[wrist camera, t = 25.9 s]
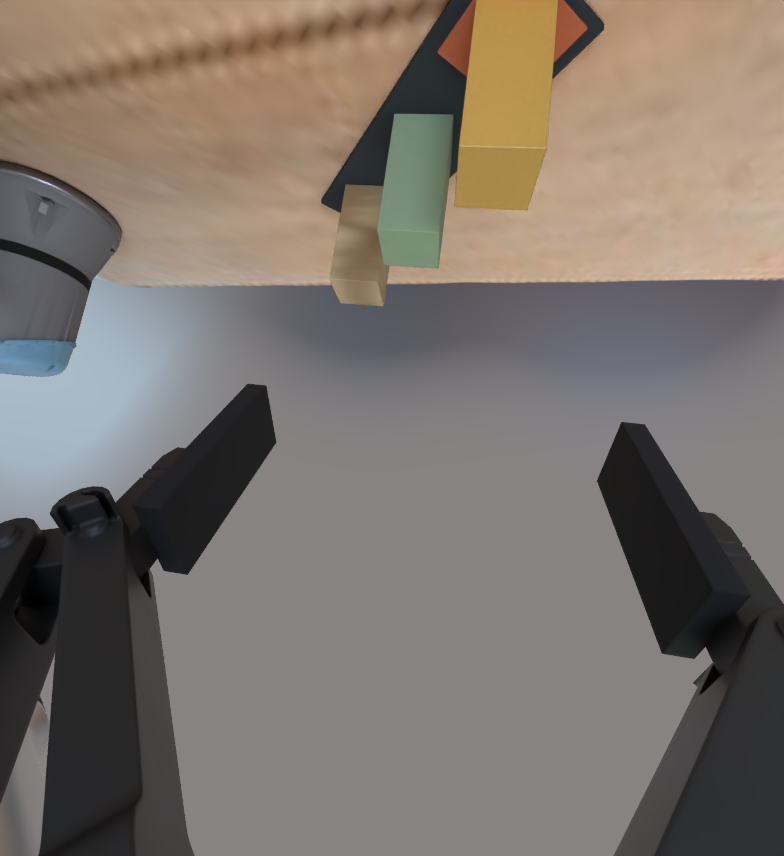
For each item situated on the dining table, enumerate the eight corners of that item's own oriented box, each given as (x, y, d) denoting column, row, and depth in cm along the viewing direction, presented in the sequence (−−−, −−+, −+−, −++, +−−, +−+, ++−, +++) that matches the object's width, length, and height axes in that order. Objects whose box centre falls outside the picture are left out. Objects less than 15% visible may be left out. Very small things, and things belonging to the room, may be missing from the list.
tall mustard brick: (469, 79, 30) (454, 208, 29) (476, -4, 25) (458, 146, 24) (537, 80, 30) (526, 211, 28) (558, -5, 25) (547, 148, 23)
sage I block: (399, 163, 39) (384, 266, 37) (394, 113, 34) (376, 229, 32) (451, 164, 38) (438, 269, 37) (453, 114, 33) (439, 232, 32)
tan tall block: (354, 217, 48) (340, 303, 46) (345, 183, 43) (329, 279, 41) (396, 219, 47) (383, 306, 45) (392, 185, 42) (377, 282, 40)
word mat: (388, 233, 50) (388, 238, 50) (321, 199, 46) (320, 204, 46) (604, 23, 27) (603, 32, 26) (507, -90, 22) (506, -80, 22)
